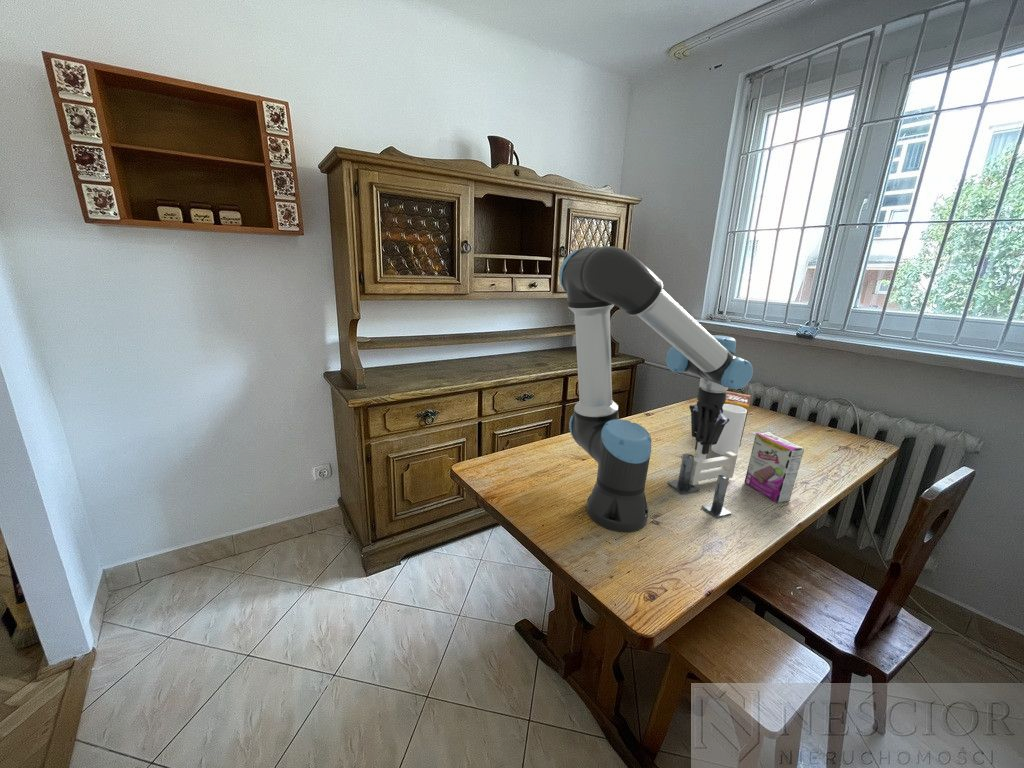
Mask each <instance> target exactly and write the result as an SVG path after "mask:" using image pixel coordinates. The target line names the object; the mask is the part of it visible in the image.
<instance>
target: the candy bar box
mask: <svg viewBox="0 0 1024 768" xmlns="http://www.w3.org/2000/svg"><path fill="white" fill-rule="evenodd" d="M804 450H805V448H804V447H803V446H800V445H798V444H796V443H794V442H791V441H790V440H787V439H785V438H782V437H781V436H779V435H776V434H774V433H772V432H769V431H764V432H763V431H762V432H756V433H755V437H754V441H753V446H752V449H751V453H750V457H749V460H748V465H747V471H746V474H745V479H744V484H745V485H747V486H748V487H751V488H752V489H754V490H755V491H758V493H760V494H762V495H764V496H766V497H767V498H769V499H770V500H772V501H774V502H775V503H777V504H781V503H785V502H789V501H790V500H791V497H792V495H793V490H794V487H795V484H796V479H797V476H798V472H799V468H800V466H801V461H802V459H803V455H804Z"/></svg>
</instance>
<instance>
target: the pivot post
mask: <svg viewBox="0 0 1024 768" xmlns="http://www.w3.org/2000/svg"><path fill="white" fill-rule="evenodd" d="M694 457H695V455H693V454H690V453H683V454H682V457H681V458H682V459H681V463H680V469H679V475H678V479H677V480H671V481H667V485H668V486H670V487H671V488H672V489H674V490H675V491H676V492H677V493H679V494H681V495H682V496H683V495H686V494H687V495H688V494H692V493H696V492H697V493H698V492H700V489H699V488H698V487H696V485H691V484H690V478H691V473H692V467H693V462H694Z"/></svg>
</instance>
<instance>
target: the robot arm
mask: <svg viewBox="0 0 1024 768" xmlns="http://www.w3.org/2000/svg"><path fill="white" fill-rule="evenodd" d="M558 279H559V283H560V285H561V288H562V289H563V290H564V291H565V293H566V297H567V308H568V309H569V310H570V311H571V312H573V314H574V326H575V330H574V331H575V342H576V360H577V361H576V363H577V378H578V379H577V381H578V398H579V399H578V400H579V401H578V402H576V404H575V405H574V407H573V410H574V411H573V414H572V415H571V416H570V418H569V423H568V424H569V425H568V427H569V432H570V435H571V437H572V438H573V440H574V441H575V442H576V444H577V445H578V446H579V447H580V448H582V450H584V451H585V452H586V453H587V454H588V455H589V456H590V457H591V458H592V459H593V460H594V461H595V462H597V464H598V465H597V472H596V473H597V474H596V481H595V484H594V486H593V488H592V491H591V493H590V494H589V496H587V497H588V498H587V501H586V513H587V515H588V517H589V518H590V519H591V520H592V521H593V522H594V523H596V524H597V525H599V526H601V527H603V528H605V529H608V530H611V531H615V532H620V533H621V532H624V533H628V532H629V533H630V532H631V533H632V532H636V531H639V530H641V529H643V528H644V527H646V525H647V523H648V519H649V507H648V503H647V502H648V501H647V497H646V493H645V488H646V483H647V477H648V476H647V475H648V471H649V465H650V458H651V454H652V437H651V435H650V432H649V431H648V430H647V429H646V428H645V427H643V426H642V425H640V424H638V423H637V422H631V420H627V419H619V405H618V403H616V402H615V401H614V400H613V385H612V384H613V383H612V382H613V381H612V347H611V346H612V345H611V343H612V341H611V310H612V309H613V307H615V306H616V307H618V308H619V309H621V310H623V312H625V313H626V314H627V315H629V316H632V317H635V316H637V317H638V318H639V319H640V320H642V321H643V322H644V323H645V324H646V325H647V326H649V327H650V328H651V329H653V331H654V332H656V333H657V334H658V335H659V336H661V337H662V339H664V340H665V341H666V342H668V343H669V344H670V345H671V347H670V348H669V349H668V351H667V353H666V357H665V362H666V365H667V367H668V369H669V370H670V372H671V373H680V374H683V373H688V374H691V375H694V376H696V377H699V378H700V379H699V385H698V386H699V388H698V391H697V397H696V400H697V402H696V404H690V405H689V411H690V418H691V420H690V423H691V425H690V426H691V437H692V438H695V441H696V442H695V448H694V449H695V455H694V457H697V458H698V459H700V460H704V459H707V455H708V454H709V451H710V446H712V445H715V444H717V442H718V439H719V437H720V435H721V433H722V431H723V429H724V426H725V425H726V424H727V423H728V422H729V418H725V416H724V415H723V405H724V404H725V401H726V396H727V392H726V391H729V390H728V389H733V390H741V389H743V388H745V387H746V386H747V385H748V384H749V382H750V381H751V379H752V377H753V374H754V368H753V365H752V363H751V362H750V361H748V360H746V359H744V358H742V357H739V356H735V354H736V346H737V340H736V339H735V338H734V337H732V336H727V335H721V334H719V335H717V334H715V335H714V334H713V335H712V334H711V333H710V332H709V331H707V329H706V328H705V327H703V326H702V324H701V323H699V322H698V321H697V320H696V319H695V318H694V317H693V316H692V315H691V314H690V313H688V312H687V310H686V309H684V307H683V306H681V305H680V304H679V303H678V302H677V301H676V300H675V299H674V298H673V297H672V296H671V295H670V294H669V293H667V292H666V290H665V289H663V288H664V284H663V281H662V279H661V278H659V276H657V275H656V274H655V273H654V272H653V271H652V270H651V269H650V268H649V267H648V266H647V265H645V264H644V263H643V262H642V261H641V260H640V259H638V258H637V257H636V256H635V255H633V254H632V253H630V252H629V251H627V250H625V249H623V248H620V247H617V246H613V245H612V246H609V245H608V246H598V247H597V246H591V247H589V246H586V247H581V248H578V249H575V250H573V251H572V252H570V253H569V254H568V255H567V256H566V257H565V258H564V260H563V261H562V263H561V266H560V268H559V274H558ZM717 418H718V419H717ZM715 423H716V424H715Z"/></svg>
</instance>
